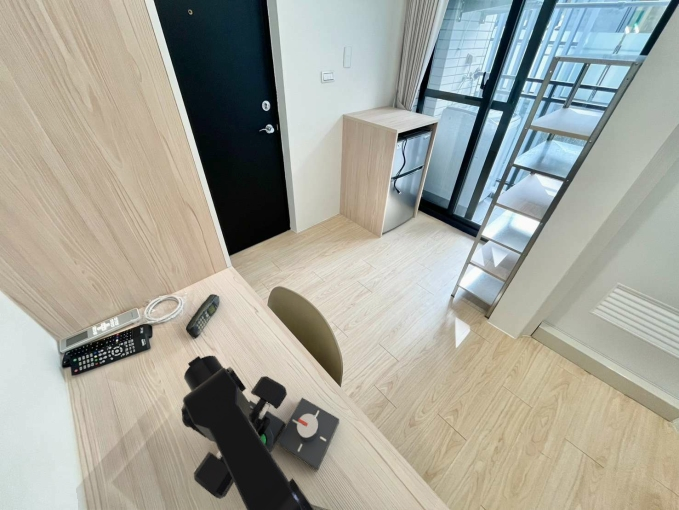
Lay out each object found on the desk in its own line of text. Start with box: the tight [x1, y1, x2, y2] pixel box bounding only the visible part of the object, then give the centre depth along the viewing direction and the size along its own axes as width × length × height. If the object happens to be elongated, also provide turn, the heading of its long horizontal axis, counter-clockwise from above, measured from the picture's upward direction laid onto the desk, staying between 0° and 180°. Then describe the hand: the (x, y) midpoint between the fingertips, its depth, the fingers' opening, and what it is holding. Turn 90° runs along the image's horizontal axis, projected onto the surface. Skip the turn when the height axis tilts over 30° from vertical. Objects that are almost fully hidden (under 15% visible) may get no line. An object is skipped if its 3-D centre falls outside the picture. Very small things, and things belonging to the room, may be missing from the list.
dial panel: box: [276, 397, 340, 472], centre depth 60 cm, size 10×10×3 cm
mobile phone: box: [185, 293, 220, 339], centre depth 82 cm, size 5×3×15 cm
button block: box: [248, 400, 287, 454], centre depth 60 cm, size 10×11×4 cm
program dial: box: [297, 414, 319, 442], centre depth 58 cm, size 4×4×4 cm
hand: (255, 440), depth 56 cm, fingers closed
